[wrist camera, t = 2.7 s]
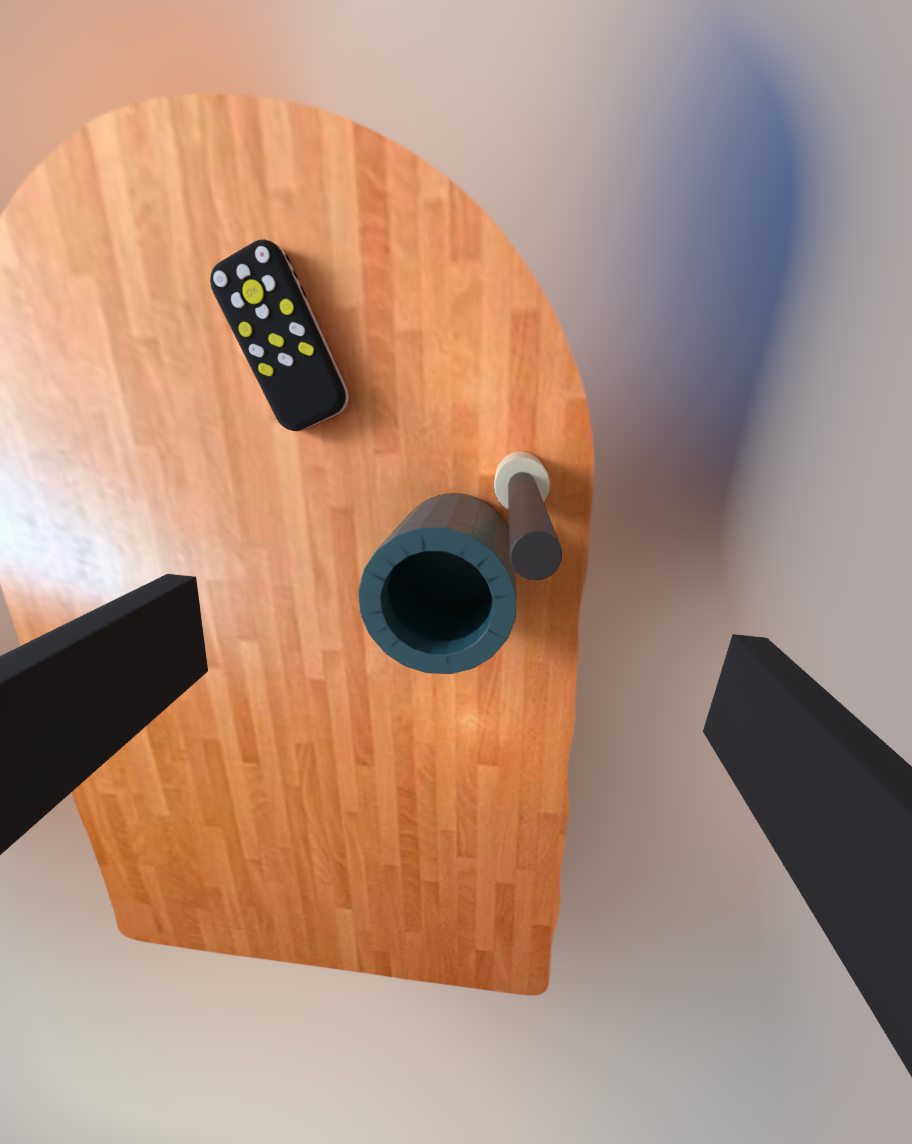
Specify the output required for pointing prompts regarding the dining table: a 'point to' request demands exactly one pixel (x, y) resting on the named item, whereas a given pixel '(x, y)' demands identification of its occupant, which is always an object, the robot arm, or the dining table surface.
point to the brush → (528, 515)
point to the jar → (442, 586)
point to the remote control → (279, 335)
